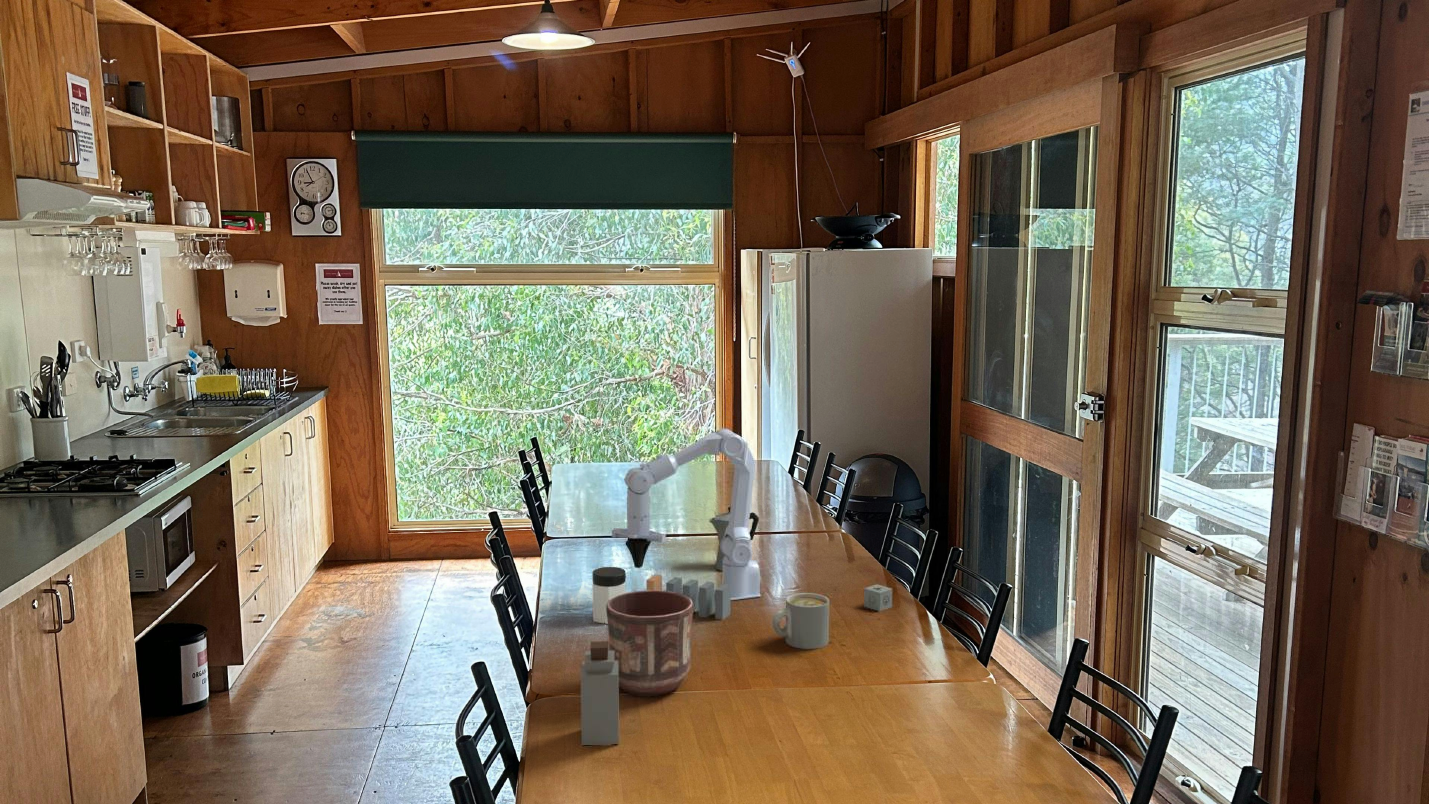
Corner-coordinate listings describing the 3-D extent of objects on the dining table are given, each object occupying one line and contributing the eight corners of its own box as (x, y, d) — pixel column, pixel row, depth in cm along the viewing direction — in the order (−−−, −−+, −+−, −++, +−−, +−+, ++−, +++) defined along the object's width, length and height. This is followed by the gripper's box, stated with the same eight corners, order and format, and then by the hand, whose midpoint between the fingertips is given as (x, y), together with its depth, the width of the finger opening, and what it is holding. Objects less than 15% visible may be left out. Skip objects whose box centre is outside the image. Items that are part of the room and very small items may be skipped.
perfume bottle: (583, 729, 196) (581, 638, 194) (619, 728, 197) (618, 637, 194) (581, 746, 190) (580, 652, 187) (618, 744, 190) (617, 651, 188)
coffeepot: (715, 575, 291) (715, 512, 289) (703, 565, 300) (703, 505, 297) (765, 568, 297) (765, 507, 295) (751, 559, 306) (751, 500, 303)
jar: (601, 626, 250) (600, 578, 249) (585, 617, 257) (585, 570, 255) (633, 619, 255) (633, 572, 254) (617, 610, 262) (617, 564, 260)
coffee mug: (822, 632, 247) (823, 592, 246) (833, 648, 237) (834, 605, 236) (767, 635, 245) (767, 594, 244) (776, 651, 235) (776, 608, 234)
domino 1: (646, 608, 264) (646, 579, 263) (655, 602, 268) (655, 574, 267) (653, 609, 263) (653, 580, 262) (662, 603, 267) (662, 575, 266)
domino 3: (682, 613, 260) (682, 585, 259) (690, 607, 264) (690, 579, 263) (689, 615, 259) (689, 586, 258) (698, 608, 263) (698, 580, 262)
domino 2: (666, 611, 261) (666, 582, 260) (674, 605, 266) (674, 577, 265) (673, 612, 261) (673, 583, 260) (681, 606, 265) (681, 578, 264)
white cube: (864, 607, 265) (864, 588, 264) (876, 602, 269) (876, 584, 268) (879, 612, 262) (880, 593, 261) (891, 607, 265) (892, 588, 264)
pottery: (660, 710, 204) (660, 622, 202) (590, 690, 214) (589, 606, 211) (708, 680, 219) (709, 598, 217) (641, 663, 228) (641, 584, 226)
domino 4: (699, 616, 258) (699, 587, 257) (707, 610, 262) (707, 581, 261) (706, 617, 257) (706, 588, 256) (714, 611, 262) (714, 582, 261)
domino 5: (715, 618, 256) (715, 589, 255) (723, 612, 261) (723, 583, 260) (722, 620, 255) (722, 590, 254) (730, 613, 260) (730, 584, 259)
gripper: (605, 515, 263) (606, 567, 265) (656, 521, 257) (657, 574, 259) (618, 509, 270) (619, 560, 271) (669, 515, 264) (669, 566, 266)
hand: (638, 566), depth 266 cm, fingers closed
